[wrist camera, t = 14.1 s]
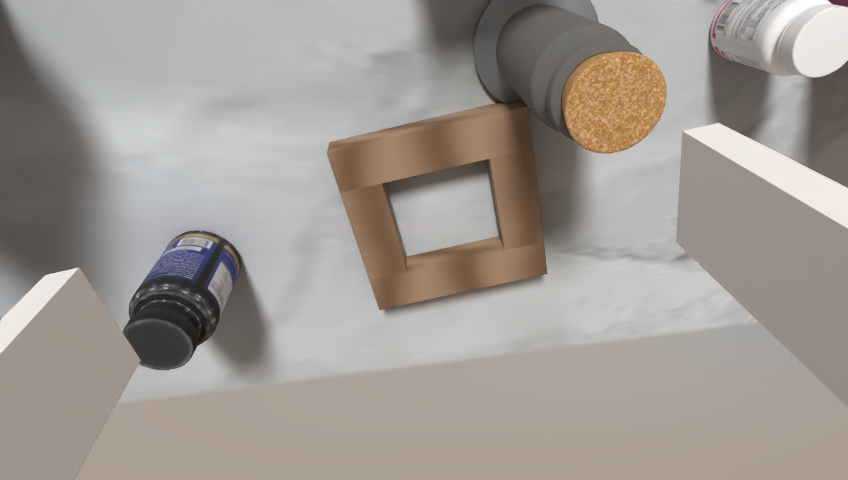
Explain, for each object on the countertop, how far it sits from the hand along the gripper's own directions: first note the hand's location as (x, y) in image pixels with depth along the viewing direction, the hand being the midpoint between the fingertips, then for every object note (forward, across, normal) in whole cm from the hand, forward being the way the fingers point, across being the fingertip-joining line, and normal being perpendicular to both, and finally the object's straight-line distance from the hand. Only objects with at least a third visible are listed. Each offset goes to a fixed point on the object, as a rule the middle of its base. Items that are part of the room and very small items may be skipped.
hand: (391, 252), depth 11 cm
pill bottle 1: (+29, -19, -14) cm, 38 cm away
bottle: (+28, +11, -3) cm, 30 cm away
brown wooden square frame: (+29, +2, -14) cm, 32 cm away
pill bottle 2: (+28, +26, -4) cm, 39 cm away
